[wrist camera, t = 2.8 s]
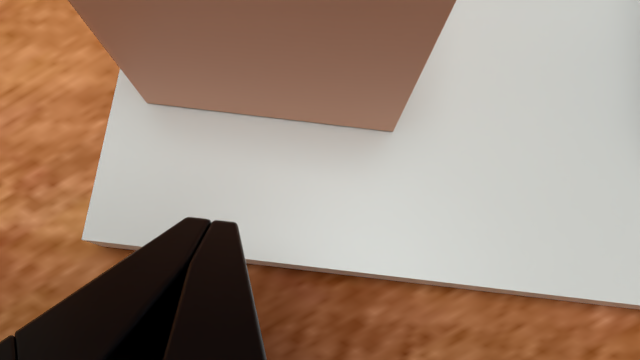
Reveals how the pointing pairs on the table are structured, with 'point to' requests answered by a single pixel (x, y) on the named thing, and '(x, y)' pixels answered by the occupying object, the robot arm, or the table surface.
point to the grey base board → (420, 165)
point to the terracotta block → (273, 54)
